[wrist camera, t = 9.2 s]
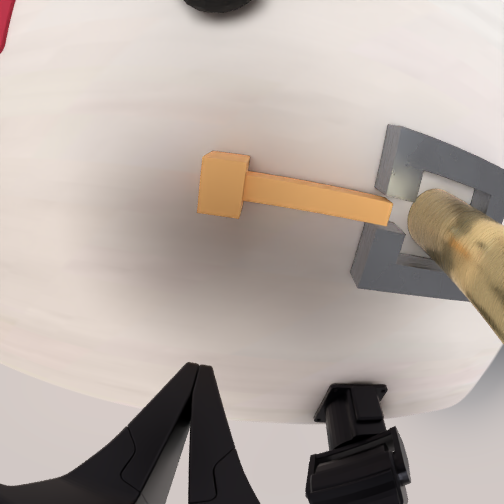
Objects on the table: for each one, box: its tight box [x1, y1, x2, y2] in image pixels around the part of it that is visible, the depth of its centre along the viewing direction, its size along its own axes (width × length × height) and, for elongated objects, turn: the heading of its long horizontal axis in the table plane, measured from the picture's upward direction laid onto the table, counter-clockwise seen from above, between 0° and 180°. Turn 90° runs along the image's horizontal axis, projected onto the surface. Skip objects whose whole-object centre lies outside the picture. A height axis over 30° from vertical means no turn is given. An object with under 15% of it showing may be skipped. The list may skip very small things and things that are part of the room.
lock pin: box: [197, 151, 393, 226], centre depth 18 cm, size 3×11×3 cm, turn 81°
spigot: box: [408, 189, 504, 344], centre depth 14 cm, size 5×5×13 cm
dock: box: [350, 125, 504, 302], centre depth 18 cm, size 11×11×2 cm
